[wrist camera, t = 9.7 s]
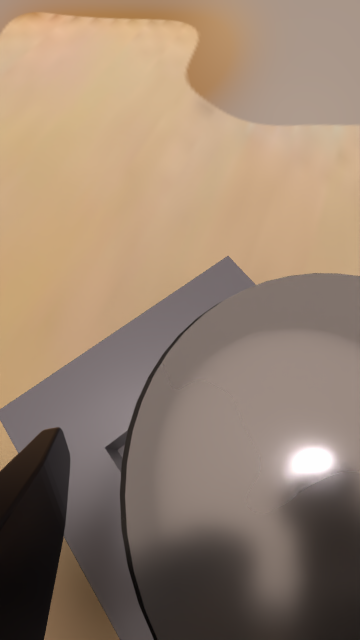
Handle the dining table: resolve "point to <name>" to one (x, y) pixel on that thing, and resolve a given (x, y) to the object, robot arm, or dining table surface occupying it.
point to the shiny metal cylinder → (251, 469)
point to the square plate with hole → (111, 431)
